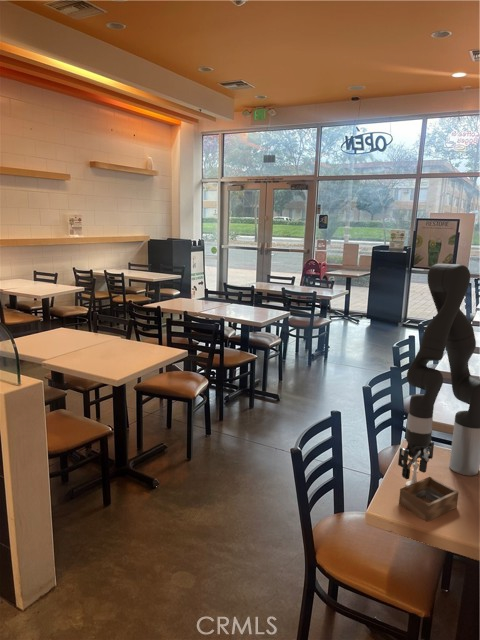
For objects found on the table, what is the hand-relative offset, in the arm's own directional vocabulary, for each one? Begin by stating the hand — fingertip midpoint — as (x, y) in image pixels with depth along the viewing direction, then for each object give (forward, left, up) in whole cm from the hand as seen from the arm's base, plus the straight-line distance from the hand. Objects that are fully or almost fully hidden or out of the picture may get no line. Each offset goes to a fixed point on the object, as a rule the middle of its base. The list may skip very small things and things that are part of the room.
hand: (414, 474), depth 149 cm
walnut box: (+5, +9, -4) cm, 11 cm away
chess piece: (0, 0, -5) cm, 5 cm away
